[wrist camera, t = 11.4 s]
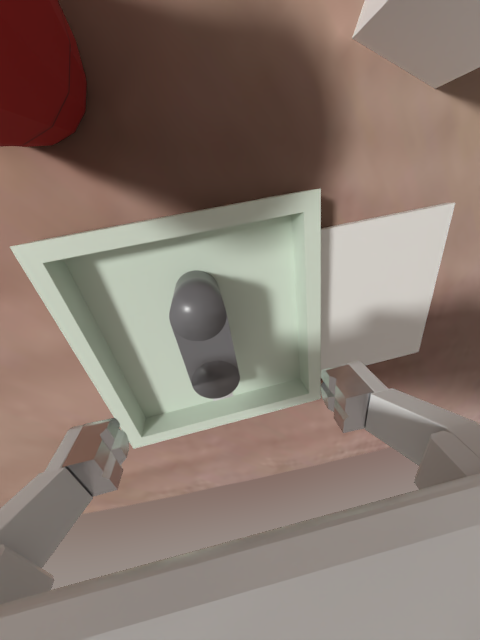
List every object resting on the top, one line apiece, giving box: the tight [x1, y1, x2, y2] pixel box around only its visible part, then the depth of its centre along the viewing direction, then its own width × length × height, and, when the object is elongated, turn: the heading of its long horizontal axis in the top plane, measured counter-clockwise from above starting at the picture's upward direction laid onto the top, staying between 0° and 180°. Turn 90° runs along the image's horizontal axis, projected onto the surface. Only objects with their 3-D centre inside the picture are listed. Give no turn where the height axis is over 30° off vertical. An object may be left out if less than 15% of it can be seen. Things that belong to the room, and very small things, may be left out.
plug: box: [169, 270, 240, 401], centre depth 16 cm, size 9×3×4 cm, turn 10°
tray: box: [10, 189, 321, 449], centre depth 17 cm, size 16×16×2 cm
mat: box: [321, 203, 455, 371], centre depth 19 cm, size 10×13×1 cm
